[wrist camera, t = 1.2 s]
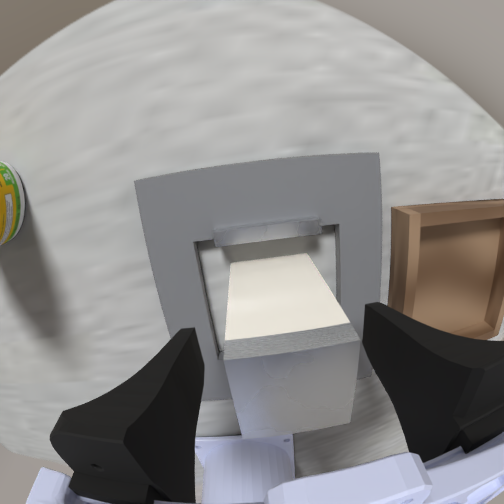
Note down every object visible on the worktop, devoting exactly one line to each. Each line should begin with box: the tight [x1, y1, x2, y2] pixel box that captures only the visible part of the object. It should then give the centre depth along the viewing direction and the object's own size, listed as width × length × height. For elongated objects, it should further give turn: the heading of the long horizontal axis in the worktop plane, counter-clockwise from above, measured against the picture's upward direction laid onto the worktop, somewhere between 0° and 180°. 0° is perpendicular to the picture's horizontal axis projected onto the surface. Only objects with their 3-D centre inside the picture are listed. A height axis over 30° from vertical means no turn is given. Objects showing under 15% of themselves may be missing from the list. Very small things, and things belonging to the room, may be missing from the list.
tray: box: [388, 199, 504, 340], centre depth 16 cm, size 10×10×2 cm
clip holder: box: [134, 153, 382, 401], centre depth 16 cm, size 14×12×2 cm
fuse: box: [224, 253, 361, 439], centre depth 13 cm, size 4×4×8 cm
